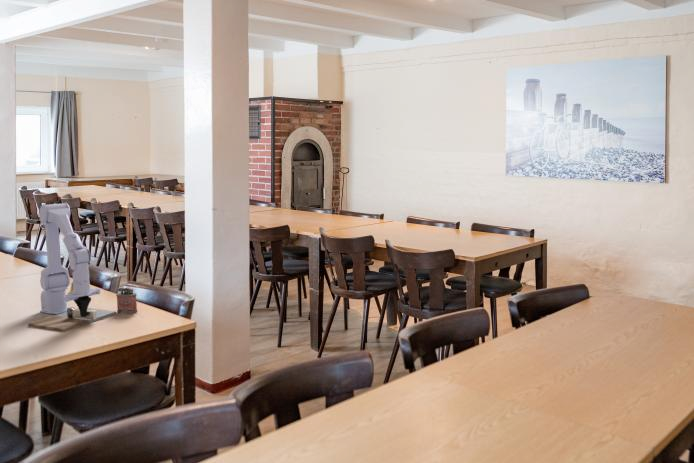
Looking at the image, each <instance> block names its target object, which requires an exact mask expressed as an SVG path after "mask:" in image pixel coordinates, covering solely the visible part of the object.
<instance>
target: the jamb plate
mask: <svg viewBox="0 0 694 463" xmlns="http://www.w3.org/2000/svg"><path fill="white" fill-rule="evenodd" d="M89 324H90V323H89V320H81V319H74V318H67V317H60V316H55V315H51V316H49V317H45V318H42V319H38V320H36V321H33V322H29V323H28V324H27V326H28V327H29V328H30V327H31V328H36V329H37V328H38V329H45V330H50V331H57V332H64V333H65V332H68V331H70V330H73V329H76V328H80V327H83V326H85V325H89Z"/></svg>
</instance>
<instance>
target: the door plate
mask: <svg viewBox="0 0 694 463" xmlns="http://www.w3.org/2000/svg"><path fill="white" fill-rule="evenodd" d="M77 309H79V308H78V307H77ZM87 310H91V311H96V317H97V319H95V320H90V319H81V318H74V319H81V320H89V323H88V324H90V323H94V322H97V321H99V320H102V319H106V318H109V317H112V316H114V315H117V311H113V310H106V309H99V308H90V307H88V308H87ZM54 316H60V317H67V311H66V312H63V313H60V314H54ZM67 318H68V317H67Z"/></svg>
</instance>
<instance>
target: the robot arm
mask: <svg viewBox="0 0 694 463" xmlns="http://www.w3.org/2000/svg"><path fill="white" fill-rule="evenodd" d="M70 219H71V208H70V205H69V204H68V203H67V202H64V203H53V204H41V206H40V207H39V221H40V225H43V226H44V229H45V230H44V231H45V244H46V255H47V256H46V258H47V266H46V267H45V268H43V269H42V270H41V271H40V287H41V288H42V291H41V293H40V306H41V310H39V313H46V314H51V315H52V314H53V315H58V314H61V313H64V312H67V308H68V304H67V303H68V302H70V301H73V302H74V303H75V304H76V306H77V309H78V308H79V310H80V315H81V317H86V316H87V308H89V305H90V303H91V301H92V297H91V296H96V295H100V294H101V288H93V289H91V283H90V270H89V263H90V262H91V261H92V260H91V259H92V256H91V251H90V249H89V248H88V247H86V246H85V245H84V244H83V241H82V240H81V238H80V236H79V234H78V233H76V232H74V229H73V227H72V224H71V222H70ZM59 230H60V231H59ZM60 232H61V233H62V235H63V238H62V242H63V245H64V247H65V248H66V250H67V252H68V262H69V266H70V270H71V274H72V282H73V289H74V293H72V294H69V295H68V294H67V291H66V290H67V289H68V287H69V286H70V285H71V277H70V274H69V270H68V269H67V267H65V266H63V265H62V259H61V258H62V257H61V243H60Z"/></svg>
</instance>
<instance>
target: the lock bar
mask: <svg viewBox="0 0 694 463" xmlns="http://www.w3.org/2000/svg"><path fill="white" fill-rule="evenodd" d="M66 312H67V317H68V318H81V319H90V320H95V319H97V317H96V311H91V310H87V316H86V317H81V315H80V310H79V309H78V308H75V307H73V306H71V307H67V311H66Z"/></svg>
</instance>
